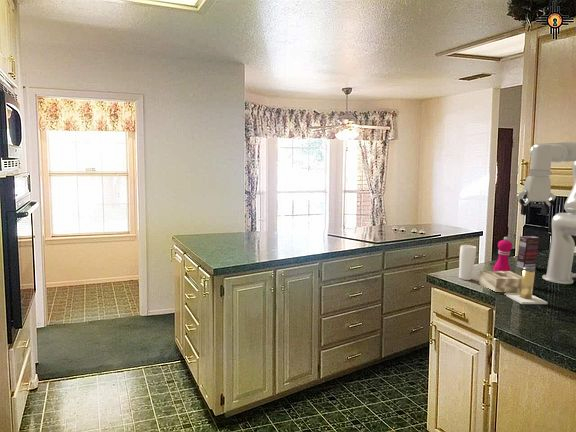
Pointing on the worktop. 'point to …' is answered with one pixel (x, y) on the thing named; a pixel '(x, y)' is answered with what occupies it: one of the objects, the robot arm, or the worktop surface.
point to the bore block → (500, 281)
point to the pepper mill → (503, 255)
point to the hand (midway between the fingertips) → (534, 215)
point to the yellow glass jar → (527, 282)
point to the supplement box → (527, 251)
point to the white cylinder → (466, 261)
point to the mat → (525, 301)
